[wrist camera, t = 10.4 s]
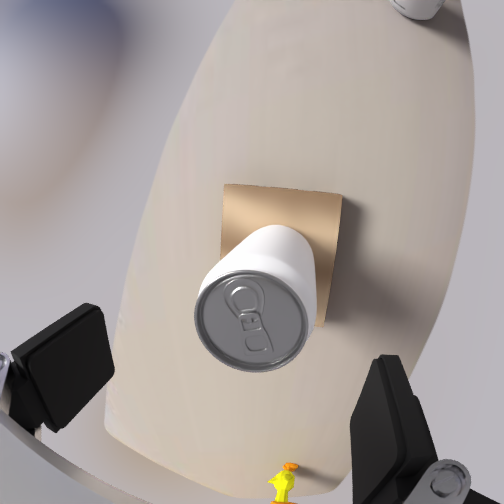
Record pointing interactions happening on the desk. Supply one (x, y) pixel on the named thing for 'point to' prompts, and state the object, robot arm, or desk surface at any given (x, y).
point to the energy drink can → (417, 8)
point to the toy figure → (284, 483)
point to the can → (259, 301)
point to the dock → (290, 215)
